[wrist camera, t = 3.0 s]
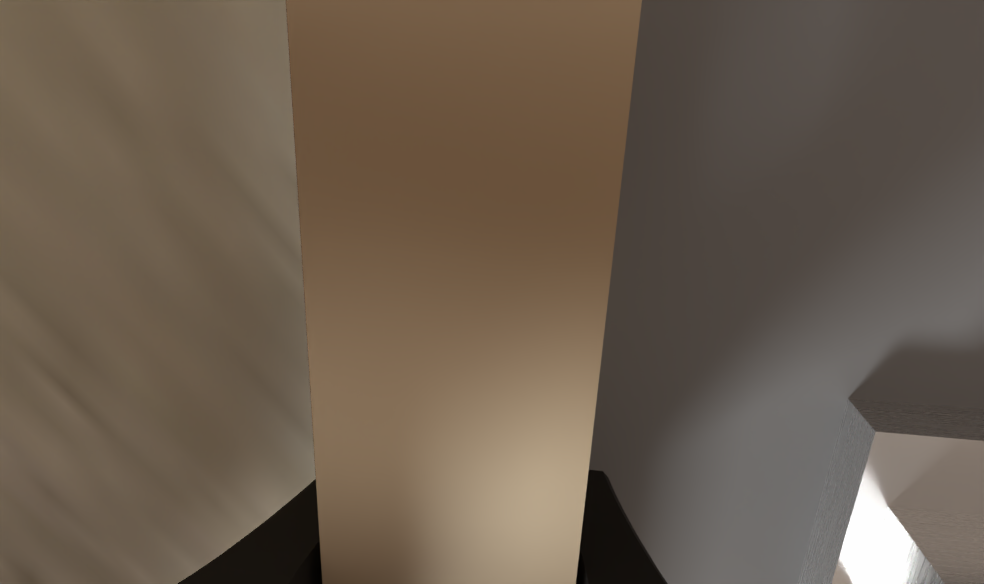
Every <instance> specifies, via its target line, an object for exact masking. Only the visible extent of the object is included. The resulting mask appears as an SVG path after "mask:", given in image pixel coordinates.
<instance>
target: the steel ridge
mask: <svg viewBox="0 0 984 584" xmlns="http://www.w3.org/2000/svg"><path fill="white" fill-rule="evenodd" d="M798 584H984V410H982V409H970V408H958V407H946V406H933V405H921V404H909V403H897V402H885V401H873V400H861V399H849V398H848V399H847V403H846V406H845V410H844V414H843V418H842V421H841V425H840V429H839V432H838V436H837V440H836V444H835V447H834V451H833V455H832V459H831V462H830V466H829V470H828V474H827V477H826V481H825V485H824V488H823V492H822V496H821V500H820V503H819V507H818V511H817V515H816V518H815V522H814V526H813V530H812V533H811V537H810V541H809V544H808V548H807V552H806V556H805V559H804V563H803V567H802V571H801V574H800V578H799V582H798Z"/></svg>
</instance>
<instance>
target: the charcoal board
mask: <svg viewBox="0 0 984 584" xmlns="http://www.w3.org/2000/svg"><path fill="white" fill-rule="evenodd" d="M848 398H849V399H861V400H873V401H885V402H897V403H909V404H921V405H933V406H946V407H958V408H970V409H982V410H984V0H642V4H641V13H640V22H639V30H638V39H637V48H636V57H635V66H634V75H633V83H632V92H631V101H630V110H629V119H628V127H627V136H626V145H625V154H624V163H623V171H622V180H621V189H620V198H619V207H618V216H617V224H616V233H615V242H614V251H613V260H612V268H611V277H610V286H609V295H608V304H607V313H606V321H605V330H604V339H603V348H602V357H601V365H600V374H599V383H598V392H597V401H596V409H595V418H594V427H593V436H592V445H591V454H590V462H589V470H598V471H603V472H604V473H605V474H606V475H607V477H608V478H609V480H610V483H611V485H612V487H613V489H614V492H615V494H616V496H617V498H618V500H619V502H620V504H621V506H622V508H623V510H624V512H625V514H626V515H627V517H628V519H629V521H630V523H631V525H632V527H633V528H634V530H635V532H636V534H637V535H638V537H639V539H640V541H641V542H642V544H643V545H644V547H645V549H646V550H647V552H648V554H649V555H650V557H651V558H652V560H653V562H654V563H655V565H656V567H657V568H658V570H659V571H660V573H661V574H662V576H663V577H664V579H665V580H666V582H667V583H668V584H798V582H799V578H800V574H801V571H802V567H803V563H804V559H805V556H806V552H807V548H808V544H809V541H810V537H811V533H812V530H813V526H814V522H815V518H816V515H817V511H818V507H819V503H820V500H821V496H822V492H823V488H824V485H825V481H826V477H827V474H828V470H829V466H830V462H831V459H832V455H833V451H834V447H835V444H836V440H837V436H838V432H839V429H840V425H841V421H842V418H843V414H844V410H845V406H846V403H847V399H848Z"/></svg>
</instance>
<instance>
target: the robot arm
mask: <svg viewBox="0 0 984 584" xmlns="http://www.w3.org/2000/svg"><path fill="white" fill-rule="evenodd" d="M178 584H322V569H321V553H320V537H319V521H318V505H317V489H316V479H315V480H314V481H313V482H312V483H311V484H310V485H308V486H307V487H306V488H305V489H304V490H303V491H301V492H300V493H299V494H298V495H297V496H296V497H294V498H293V499H292V500H291V501H289V502H288V503H287V504H286V505H285V506H283V507H282V508H281V509H280V510H279V511H277V512H276V513H275V514H274V515H272V516H271V517H270V518H269V519H268V520H266V521H265V522H264V523H263V524H261V525H260V526H259V527H257V528H256V529H255V530H253V531H252V532H251V533H249V534H248V535H247V536H245V537H244V538H243V539H241V540H240V541H239V542H237V543H236V544H235V545H233V546H232V547H231V548H229V549H228V550H227V551H225V552H224V553H223V554H221V555H220V556H219V557H217V558H216V559H214V560H213V561H211V562H210V563H208V564H207V565H205V566H204V567H202V568H201V569H199V570H198V571H196V572H195V573H193V574H192V575H190V576H189V577H187V578H186V579H184V580H182V581H181V582H179V583H178ZM576 584H668V583H667V582H666V580H665V579H664V577H663V576H662V574H661V573H660V571H659V570H658V568H657V567H656V565H655V563H654V562H653V560H652V558H651V557H650V555H649V554H648V552H647V550H646V549H645V547H644V545H643V544H642V542H641V541H640V539H639V537H638V535H637V534H636V532H635V530H634V528H633V527H632V525H631V523H630V521H629V519H628V517H627V515H626V514H625V512H624V510H623V508H622V506H621V504H620V502H619V500H618V498H617V496H616V494H615V492H614V489H613V487H612V485H611V483H610V480H609V478H608V477H607V475H606V474H605V473H604V472H603V471H598V470H589V471H588V480H587V489H586V498H585V506H584V515H583V524H582V533H581V542H580V551H579V559H578V568H577V577H576Z"/></svg>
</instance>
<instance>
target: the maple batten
mask: <svg viewBox="0 0 984 584" xmlns="http://www.w3.org/2000/svg"><path fill="white" fill-rule="evenodd" d="M641 4H642V0H286V10H287V26H288V42H289V58H290V74H291V90H292V106H293V122H294V138H295V154H296V170H297V185H298V201H299V217H300V233H301V249H302V265H303V281H304V297H305V313H306V329H307V345H308V361H309V377H310V393H311V409H312V425H313V441H314V457H315V473H316V489H317V505H318V521H319V537H320V553H321V569H322V584H576V577H577V568H578V559H579V551H580V542H581V533H582V524H583V515H584V506H585V498H586V489H587V480H588V471H589V462H590V454H591V445H592V436H593V427H594V418H595V409H596V401H597V392H598V383H599V374H600V365H601V357H602V348H603V339H604V330H605V321H606V313H607V304H608V295H609V286H610V277H611V268H612V260H613V251H614V242H615V233H616V224H617V216H618V207H619V198H620V189H621V180H622V171H623V163H624V154H625V145H626V136H627V127H628V119H629V110H630V101H631V92H632V83H633V75H634V66H635V57H636V48H637V39H638V30H639V22H640V13H641Z"/></svg>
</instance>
